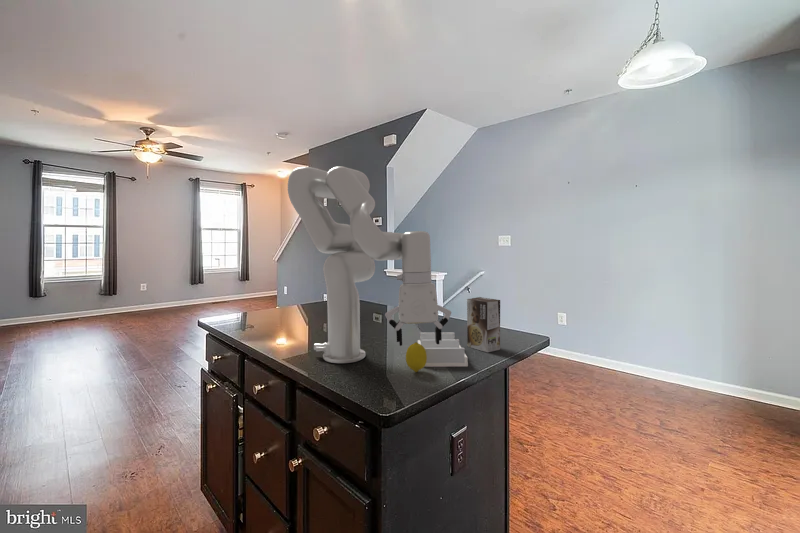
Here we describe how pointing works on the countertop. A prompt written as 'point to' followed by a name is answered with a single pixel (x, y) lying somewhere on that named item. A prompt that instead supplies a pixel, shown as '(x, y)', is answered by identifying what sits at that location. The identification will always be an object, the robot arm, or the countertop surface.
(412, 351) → the lemon
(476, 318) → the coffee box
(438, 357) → the dish rack
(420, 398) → the countertop surface
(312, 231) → the robot arm
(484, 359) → the countertop surface
